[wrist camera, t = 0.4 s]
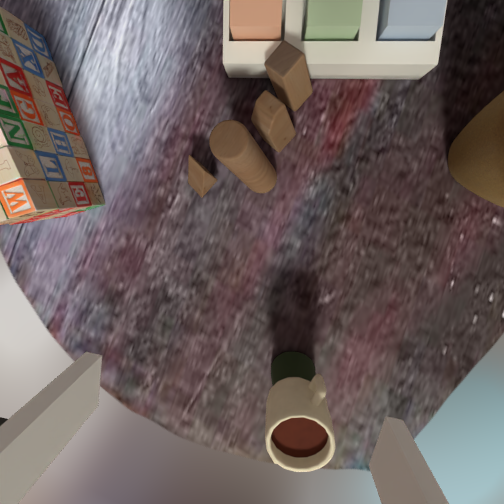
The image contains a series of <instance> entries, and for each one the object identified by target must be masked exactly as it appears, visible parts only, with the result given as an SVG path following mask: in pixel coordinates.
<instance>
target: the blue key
mask: <svg viewBox="0 0 504 504" xmlns="http://www.w3.org/2000/svg"><path fill="white" fill-rule="evenodd" d="M445 7H446V0H380V4H379V13H378V22H377V32H376V41H428V40H429V39H430V38H431V37H432V36H433V35H434V34H435V33H436V32H437V31H438V30H439V29H440V28H441V27H442V26H443V20H444V14H445Z"/></svg>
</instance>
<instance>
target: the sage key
mask: <svg viewBox="0 0 504 504" xmlns="http://www.w3.org/2000/svg"><path fill="white" fill-rule="evenodd" d="M362 4H363V0H306V15H305V31H304V41H353V39H354V37H355V35H356V33H357V31H358V29H359V27H360V24H361V14H362Z"/></svg>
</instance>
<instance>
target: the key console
mask: <svg viewBox="0 0 504 504" xmlns="http://www.w3.org/2000/svg"><path fill="white" fill-rule="evenodd" d="M379 4H380V0H363V4H362V14H361V24H360V27H359V29H358V31H357V33H356V35H355V37H354V39H353V41H304V31H305V15H306V0H282V21H281V41H234V40H233V36H232V33H231V29H230V0H224V11H223V65H224V67H225V70H226V72H227V75H228V77H229V78H270V77H269V75H268V73H267V70H266V68H265V65H264V63H265V61H266V60H267V59H268V57H269V56H270V55H271V54H272V53H273V52H274V50H275V49H276V48H277V47H278V46H279V44H280V43H281V42H282V41H283V40H285V41H287V42H288V43H290V44H291V45H293V46H294V47H296V48H297V49H299V50H300V51H302V52H303V53H304V55H305V59H306V63H307V68H308V72H309V77H310V78H319V79H420V78H421V77H422V76H424V75H425V74H426V73H427V72H429V71H430V70H431V69H433V68H434V67H435V66H436V65H438V60H439V53H440V46H441V39H442V33H443V26H444V20H443V26H442V27H441V28H440V29H439V30H438V31H437V32H436V33H435V34H434V35H433V36H432V37H431V38H430V39H429V40H428V41H376V32H377V22H378V13H379ZM446 6H447V0H446ZM445 12H446V7H445ZM444 19H445V14H444Z"/></svg>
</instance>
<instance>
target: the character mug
mask: <svg viewBox="0 0 504 504" xmlns="http://www.w3.org/2000/svg"><path fill="white" fill-rule="evenodd" d="M271 378H272V384H273V387H272V388H271V389H270V392H269V395H268V398H267V405H266V430H265V439H266V447H267V451H268V453H269V454H270V456H271V458H272V459H273V462H274V463H275V464H279V465H280V466H281V467H283V468H285V469H288V470H292V471H295V472H309V471H312V470H316V469H319V468H321V467H323V466H324V465H326V464H327V463H328V462H329V461H330V460H331V458H332V456H333V455H334V451H335V440H334V432H333V427H332V421H331V417H330V413H329V411H328V408H327V400H326V398H325V395H326V387H325V384H324V380H323V377H322V376H321V375H320V374H316V373H315V366H314V364H313V362H312V360H311V359H310V358H309V357H307V356H306V355H305V354H302V353H298V352H284V353H282V354H280V355H279V356H277V357H276V358H275V360H274V361H273V363H272V365H271Z"/></svg>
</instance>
